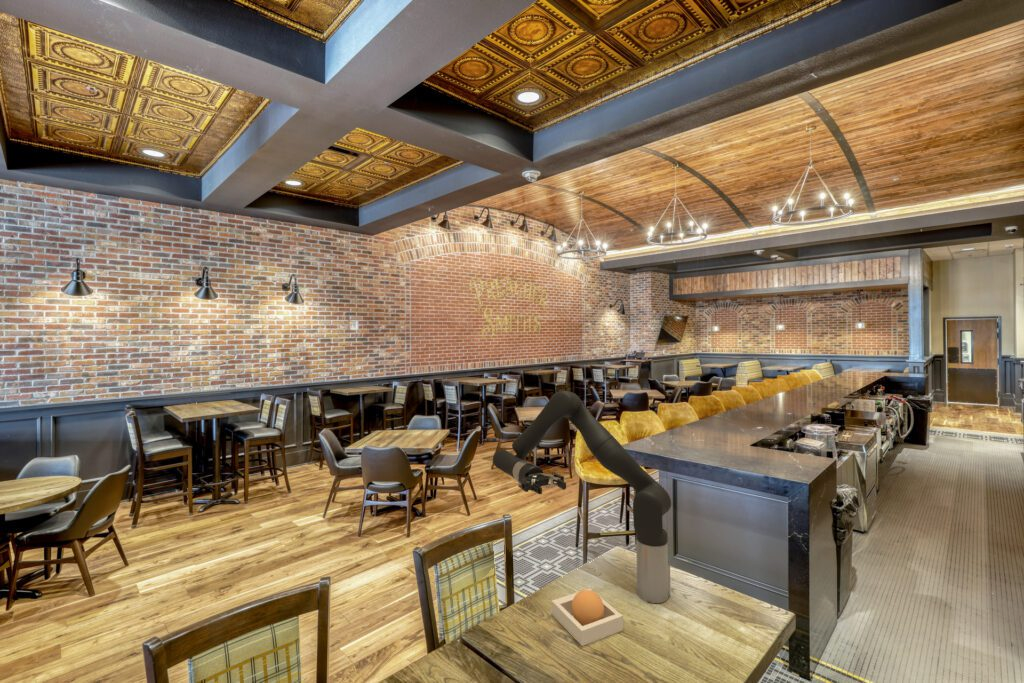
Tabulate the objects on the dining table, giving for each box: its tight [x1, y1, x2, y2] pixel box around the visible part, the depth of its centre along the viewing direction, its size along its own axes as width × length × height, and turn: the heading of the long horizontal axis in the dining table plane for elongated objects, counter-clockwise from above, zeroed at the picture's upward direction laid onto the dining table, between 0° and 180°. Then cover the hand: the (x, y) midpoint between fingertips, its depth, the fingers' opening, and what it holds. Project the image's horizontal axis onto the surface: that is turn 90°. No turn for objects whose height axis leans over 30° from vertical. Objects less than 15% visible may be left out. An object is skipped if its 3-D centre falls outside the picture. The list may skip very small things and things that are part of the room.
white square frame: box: [551, 588, 624, 647], centre depth 127 cm, size 14×15×4 cm
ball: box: [572, 589, 604, 626], centre depth 126 cm, size 9×9×9 cm
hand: (553, 488), depth 137 cm, fingers open, 8 cm apart
